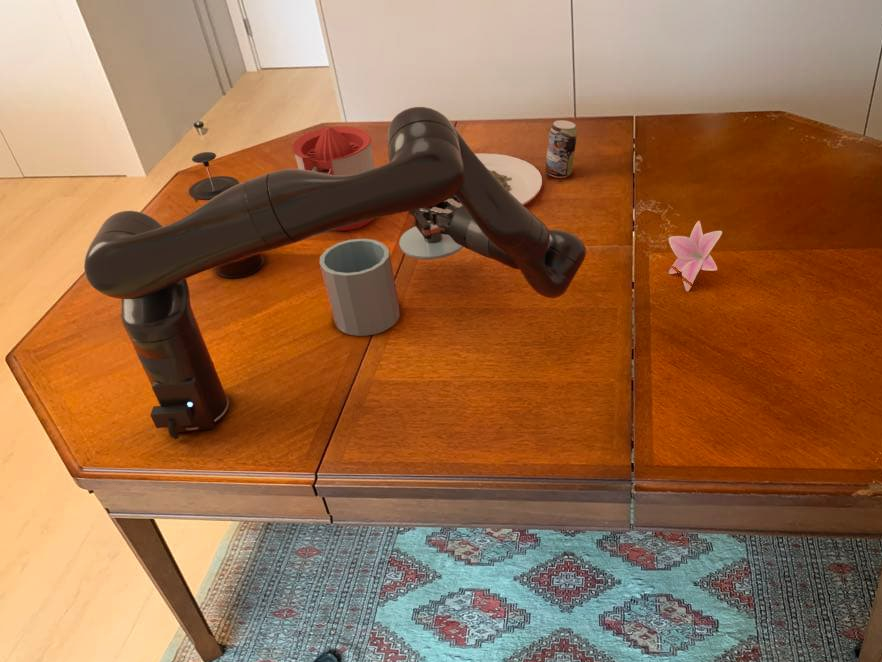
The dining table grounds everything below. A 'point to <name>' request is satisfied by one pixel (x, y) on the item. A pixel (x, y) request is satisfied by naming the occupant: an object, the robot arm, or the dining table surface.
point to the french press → (206, 192)
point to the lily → (694, 253)
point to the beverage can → (561, 148)
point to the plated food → (513, 175)
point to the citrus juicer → (335, 154)
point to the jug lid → (428, 244)
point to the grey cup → (360, 286)
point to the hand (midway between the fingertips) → (418, 202)
